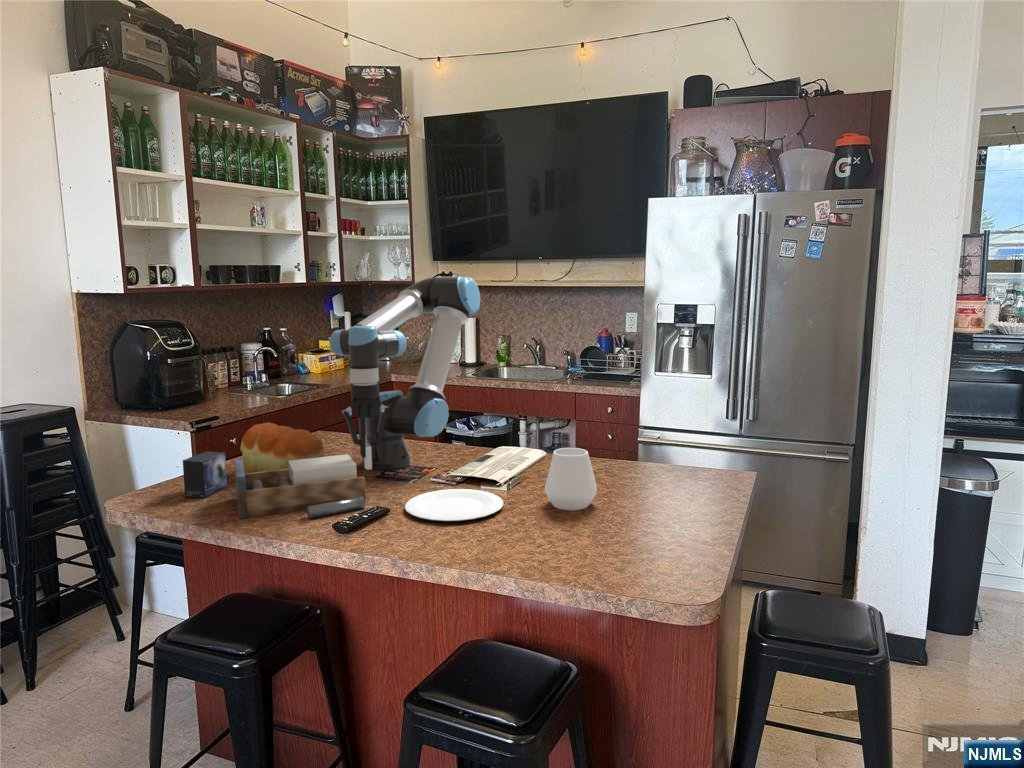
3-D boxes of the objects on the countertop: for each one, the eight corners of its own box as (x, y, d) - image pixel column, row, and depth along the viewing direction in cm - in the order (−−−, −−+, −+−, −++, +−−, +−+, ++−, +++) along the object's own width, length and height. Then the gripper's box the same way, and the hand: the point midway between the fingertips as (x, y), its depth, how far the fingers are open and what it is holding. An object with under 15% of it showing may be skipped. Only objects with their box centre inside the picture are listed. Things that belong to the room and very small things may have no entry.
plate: (386, 520, 168) (385, 513, 168) (432, 490, 191) (432, 484, 191) (480, 531, 159) (480, 524, 159) (517, 499, 183) (517, 493, 182)
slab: (348, 469, 194) (348, 454, 193) (357, 480, 183) (356, 464, 182) (289, 476, 187) (288, 460, 187) (294, 488, 176) (293, 471, 176)
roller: (361, 506, 178) (360, 494, 177) (365, 509, 175) (364, 497, 175) (306, 516, 170) (306, 504, 170) (310, 520, 167) (309, 508, 167)
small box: (205, 499, 185) (202, 461, 184) (183, 498, 186) (180, 460, 185) (228, 487, 195) (226, 451, 194) (208, 486, 197) (205, 450, 195)
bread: (326, 478, 204) (323, 429, 202) (289, 488, 195) (285, 437, 192) (278, 465, 220) (275, 419, 218) (241, 473, 210) (238, 426, 208)
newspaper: (497, 453, 233) (497, 445, 233) (551, 458, 226) (551, 449, 225) (445, 482, 200) (445, 472, 199) (507, 489, 192) (506, 479, 192)
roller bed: (353, 483, 198) (351, 447, 196) (365, 501, 181) (364, 462, 180) (237, 497, 186) (234, 460, 184) (239, 518, 169) (236, 477, 168)
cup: (601, 499, 181) (602, 447, 179) (590, 515, 169) (590, 459, 166) (552, 494, 185) (552, 443, 183) (538, 510, 173) (537, 456, 171)
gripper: (385, 380, 192) (388, 462, 195) (337, 383, 187) (341, 467, 190) (392, 383, 185) (395, 468, 189) (342, 386, 180) (346, 474, 184)
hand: (368, 468), depth 190 cm, fingers closed
